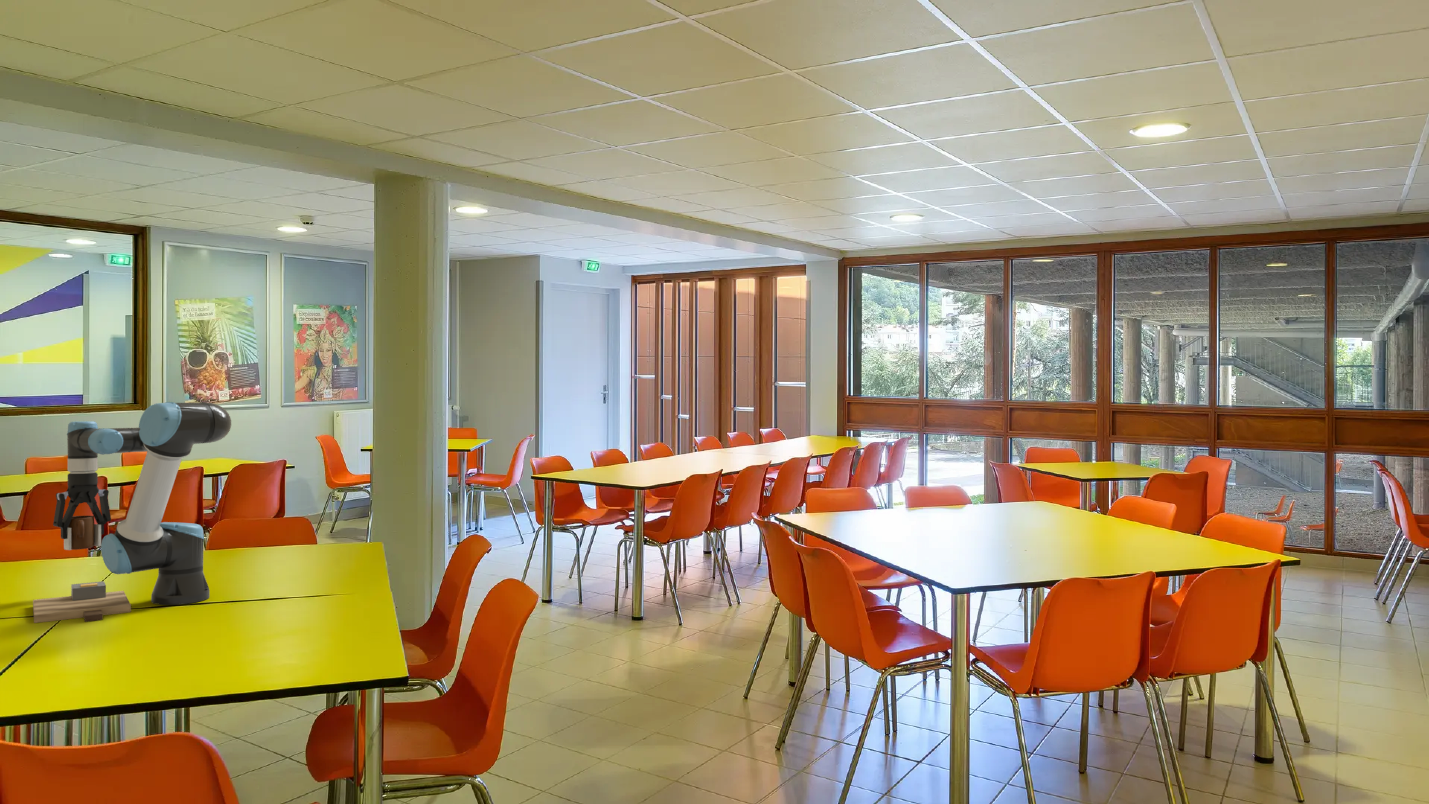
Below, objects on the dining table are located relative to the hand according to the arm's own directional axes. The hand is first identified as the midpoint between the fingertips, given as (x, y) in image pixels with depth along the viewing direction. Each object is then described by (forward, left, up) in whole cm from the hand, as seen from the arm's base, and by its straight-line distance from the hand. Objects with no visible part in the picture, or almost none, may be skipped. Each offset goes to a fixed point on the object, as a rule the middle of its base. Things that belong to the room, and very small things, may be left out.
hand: (82, 547), depth 278 cm
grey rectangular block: (+4, +11, -13) cm, 18 cm away
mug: (+1, 0, 0) cm, 1 cm away
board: (+10, +20, -15) cm, 27 cm away
